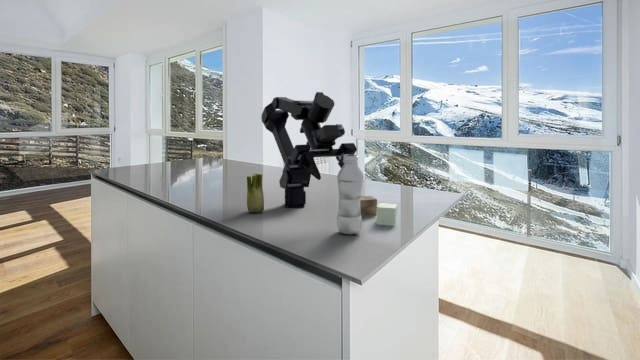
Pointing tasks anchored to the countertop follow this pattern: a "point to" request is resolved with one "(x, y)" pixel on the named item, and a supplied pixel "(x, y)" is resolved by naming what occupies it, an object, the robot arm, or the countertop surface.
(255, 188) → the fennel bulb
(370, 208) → the walnut block
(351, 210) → the plastic bottle
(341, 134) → the robot arm
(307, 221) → the countertop surface
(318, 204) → the countertop surface
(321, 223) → the countertop surface
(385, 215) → the sage block
